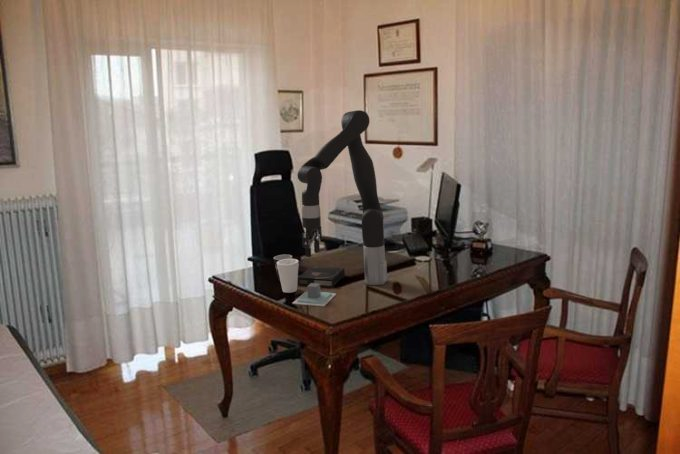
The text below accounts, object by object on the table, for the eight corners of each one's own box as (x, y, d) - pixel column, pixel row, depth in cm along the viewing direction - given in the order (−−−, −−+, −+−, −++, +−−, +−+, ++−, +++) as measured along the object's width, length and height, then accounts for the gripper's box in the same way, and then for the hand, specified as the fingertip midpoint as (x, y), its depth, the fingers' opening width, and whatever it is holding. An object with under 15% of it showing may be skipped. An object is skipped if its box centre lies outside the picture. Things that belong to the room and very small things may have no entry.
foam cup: (279, 287, 253) (277, 259, 250) (300, 285, 253) (298, 257, 250) (279, 294, 244) (276, 265, 240) (300, 293, 244) (298, 264, 241)
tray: (336, 294, 240) (336, 293, 240) (324, 306, 227) (324, 305, 227) (305, 292, 245) (305, 291, 245) (292, 303, 232) (292, 303, 232)
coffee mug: (290, 280, 261) (289, 259, 259) (273, 280, 263) (271, 259, 260) (297, 272, 272) (296, 252, 270) (280, 272, 274) (278, 252, 271)
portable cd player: (297, 286, 254) (296, 277, 253) (312, 274, 270) (311, 266, 269) (331, 288, 249) (331, 280, 248) (344, 276, 264) (344, 268, 263)
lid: (331, 294, 239) (330, 281, 238) (322, 303, 229) (321, 290, 228) (307, 292, 243) (306, 279, 241) (297, 301, 233) (296, 288, 231)
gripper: (312, 219, 223) (313, 259, 226) (326, 212, 236) (327, 250, 239) (295, 218, 225) (297, 257, 229) (310, 211, 238) (311, 248, 242)
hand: (312, 253), depth 234 cm, fingers open, 8 cm apart
